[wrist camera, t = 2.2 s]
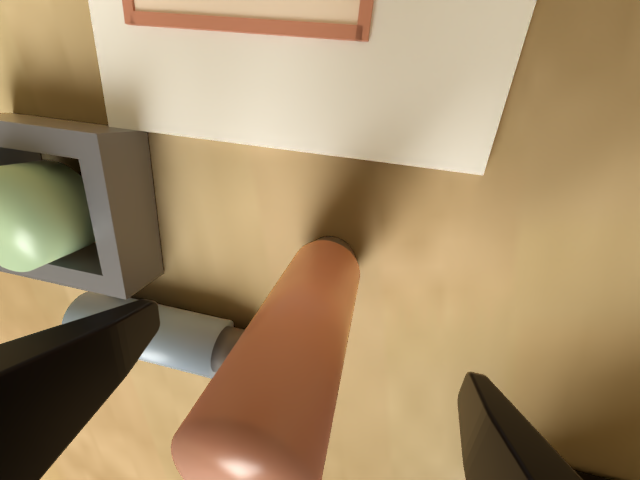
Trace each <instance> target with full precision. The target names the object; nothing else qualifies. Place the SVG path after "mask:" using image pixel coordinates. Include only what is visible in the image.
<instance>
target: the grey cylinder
mask: <svg viewBox="0 0 640 480" xmlns="http://www.w3.org/2000/svg"><path fill="white" fill-rule="evenodd" d="M137 300H138V299H133V298H128V299H127V300H125V299H121V298H117V297H112V296H108V295H103V294H99V293H94V292H90V291H88V292H86V293H84V294H82V295H80V296H79V297H78V298H76V299H75V300H74V301H73V302H72V303H71V305H70V306H69V307H68V309H67V311H66V312H65V315H64V317H63V321H62V324H65V323H68V322H71V321H74V320H77V319H81V318H84V317H87V316H90V315H93V314H96V313H99V312H102V311H106V310H109V309H112V308H115V307H118V306H121V305H124V304H128V303H131V302H134V301H137ZM158 309H159V317H160V327H159V330H158V332H157V333H156V335H155V336H154V338H153V339H152V340H151V342H150V343H149V345H148V346H147V348H146V349H145V350H144V352H143V353H142V355H141V356H140V358H139V359H138V360H141V361H145V362H149V363H153V364H157V365H161V366H165V367H169V368H173V369H177V370H180V371H184V372H188V373H192V374H196V375H200V376H204V377H208V378H213V377H214V375H215V374H216V372H217V371H218V369H219V368H220V366H221V365H222V363H223V362H224V360H225V359H226V357H227V356H228V354H229V353H230V351H231V350H232V348H233V347H234V346H235V344H236V343H237V341H238V340H239V338H240V337H241V335H242V334H243V332H244V331H245V330H244V329H239V328H235V327H234V323H233V321H231V320H227V319H223V318H219V317H214V316H210V315H205V314H201V313H196V312H192V311H187V310H183V309H178V308H174V307H169V306H165V305H160V304H158Z"/></svg>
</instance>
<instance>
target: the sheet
mask: <svg viewBox="0 0 640 480" xmlns="http://www.w3.org/2000/svg"><path fill="white" fill-rule="evenodd" d="M536 1H537V0H88V3H89V9H90V15H91V21H92V27H93V34H94V40H95V46H96V52H97V58H98V64H99V70H100V76H101V83H102V89H103V95H104V101H105V107H106V113H107V119H108V125H109V127H114V128H122V129H130V130H138V131H145V132H153V133H161V134H168V135H176V136H184V137H192V138H199V139H207V140H215V141H222V142H230V143H238V144H245V145H253V146H261V147H269V148H276V149H284V150H292V151H299V152H307V153H315V154H323V155H330V156H338V157H346V158H353V159H361V160H369V161H376V162H384V163H392V164H400V165H407V166H415V167H423V168H430V169H438V170H446V171H454V172H461V173H469V174H477V175H483V174H484V171H485V168H486V165H487V161H488V158H489V155H490V152H491V148H492V145H493V142H494V138H495V135H496V132H497V129H498V125H499V122H500V119H501V116H502V112H503V109H504V106H505V103H506V99H507V96H508V93H509V89H510V86H511V83H512V80H513V76H514V73H515V70H516V67H517V63H518V60H519V57H520V53H521V50H522V47H523V44H524V40H525V37H526V34H527V31H528V27H529V24H530V21H531V18H532V14H533V11H534V8H535V4H536Z"/></svg>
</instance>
